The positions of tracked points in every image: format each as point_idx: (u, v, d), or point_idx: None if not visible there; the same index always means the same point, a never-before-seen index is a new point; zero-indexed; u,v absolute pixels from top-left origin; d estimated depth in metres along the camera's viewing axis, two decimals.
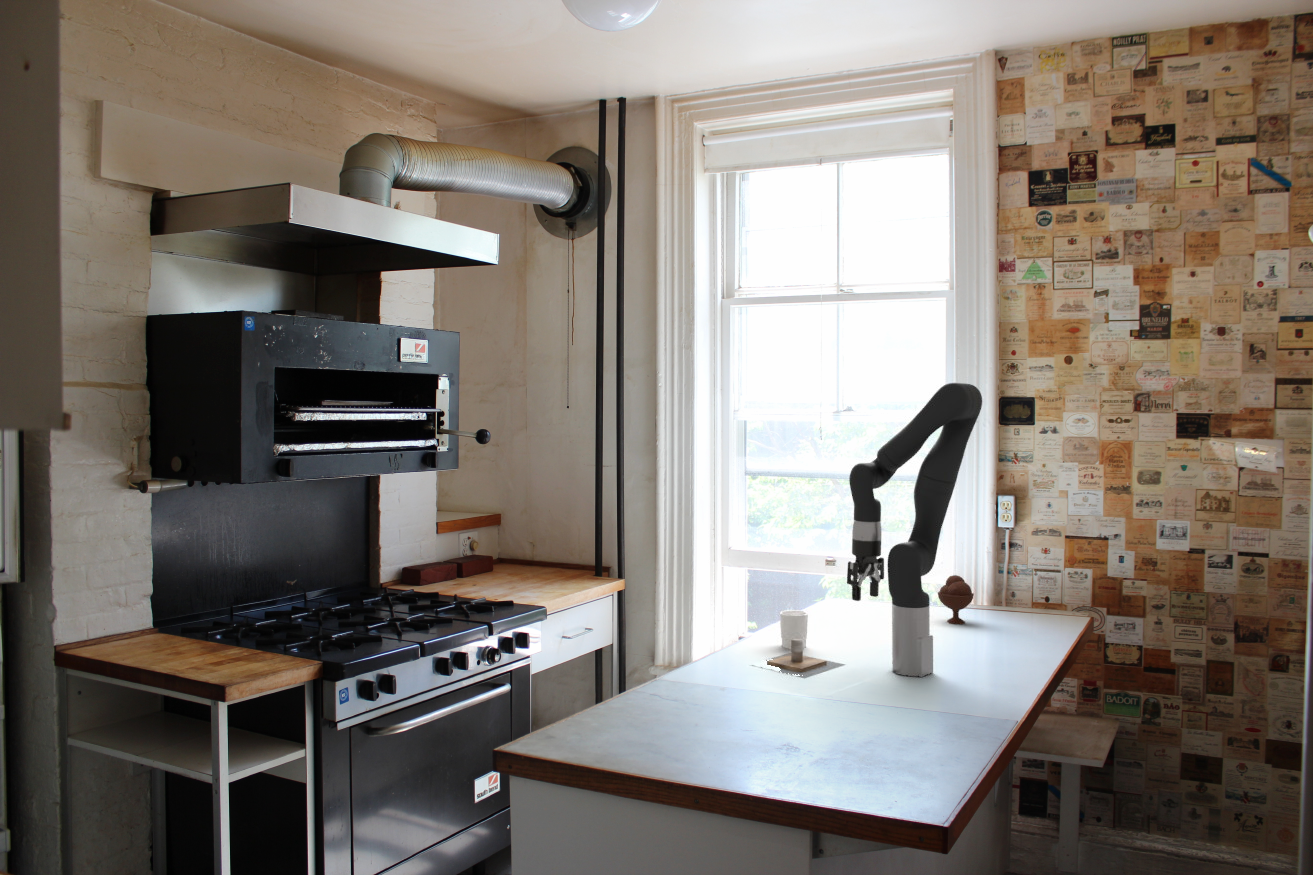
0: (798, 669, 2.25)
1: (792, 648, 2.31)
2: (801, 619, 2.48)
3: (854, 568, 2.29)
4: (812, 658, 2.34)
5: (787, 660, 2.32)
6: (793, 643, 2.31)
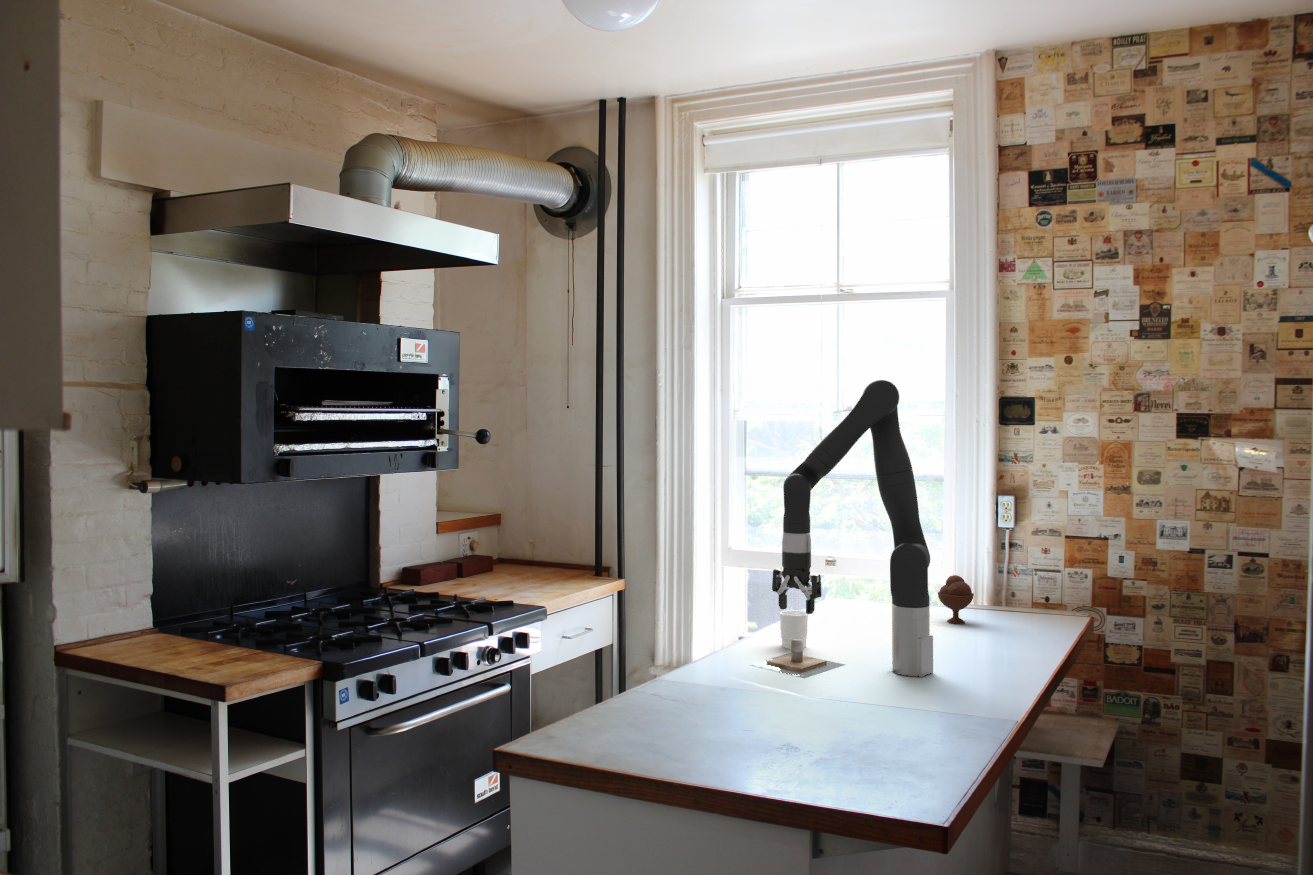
0: (798, 669, 2.25)
1: (792, 648, 2.31)
2: (801, 619, 2.48)
3: (820, 580, 2.27)
4: (812, 658, 2.34)
5: (787, 660, 2.32)
6: (793, 643, 2.31)
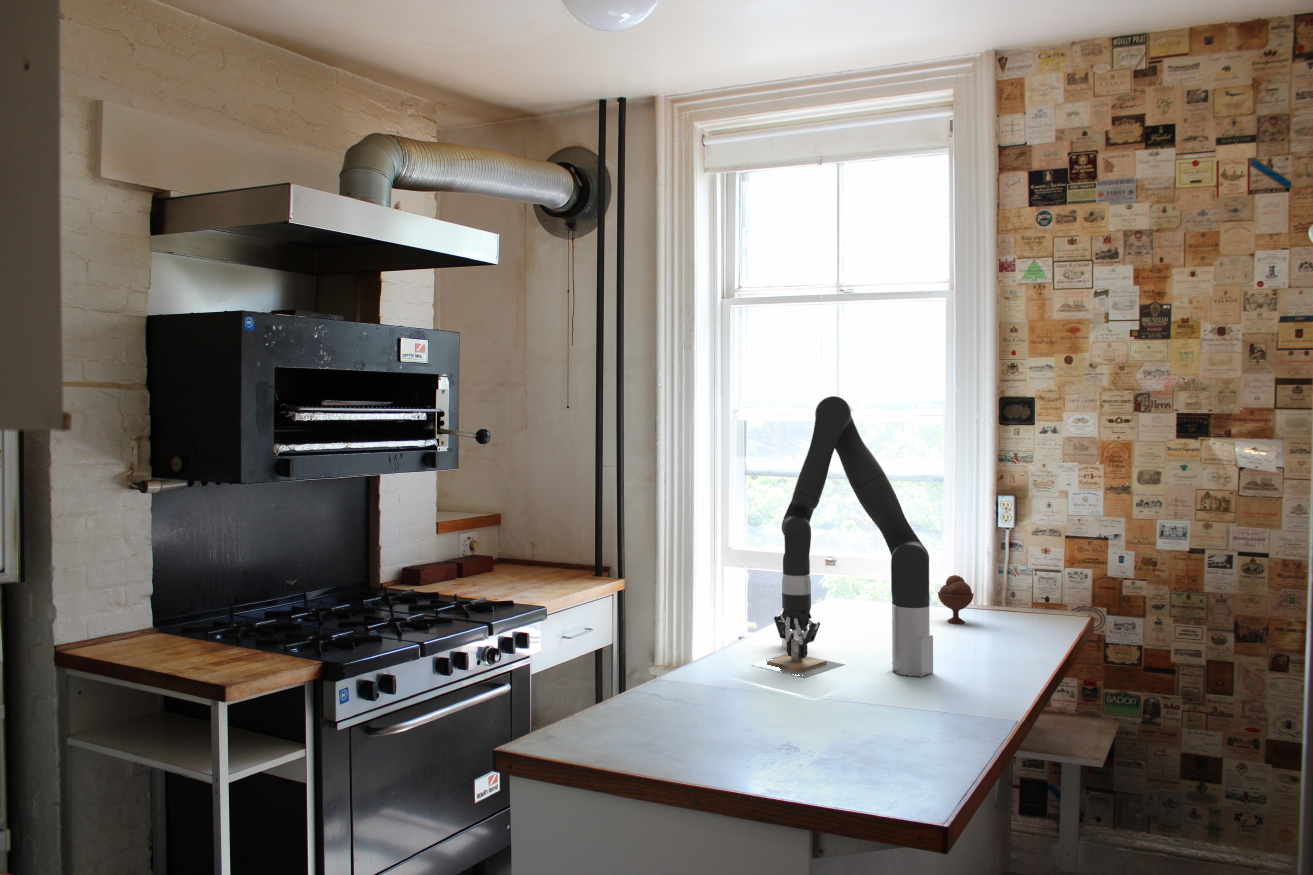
0: (798, 669, 2.25)
1: (792, 648, 2.31)
2: None
3: (817, 628, 2.28)
4: (812, 658, 2.34)
5: (787, 660, 2.32)
6: (793, 643, 2.31)
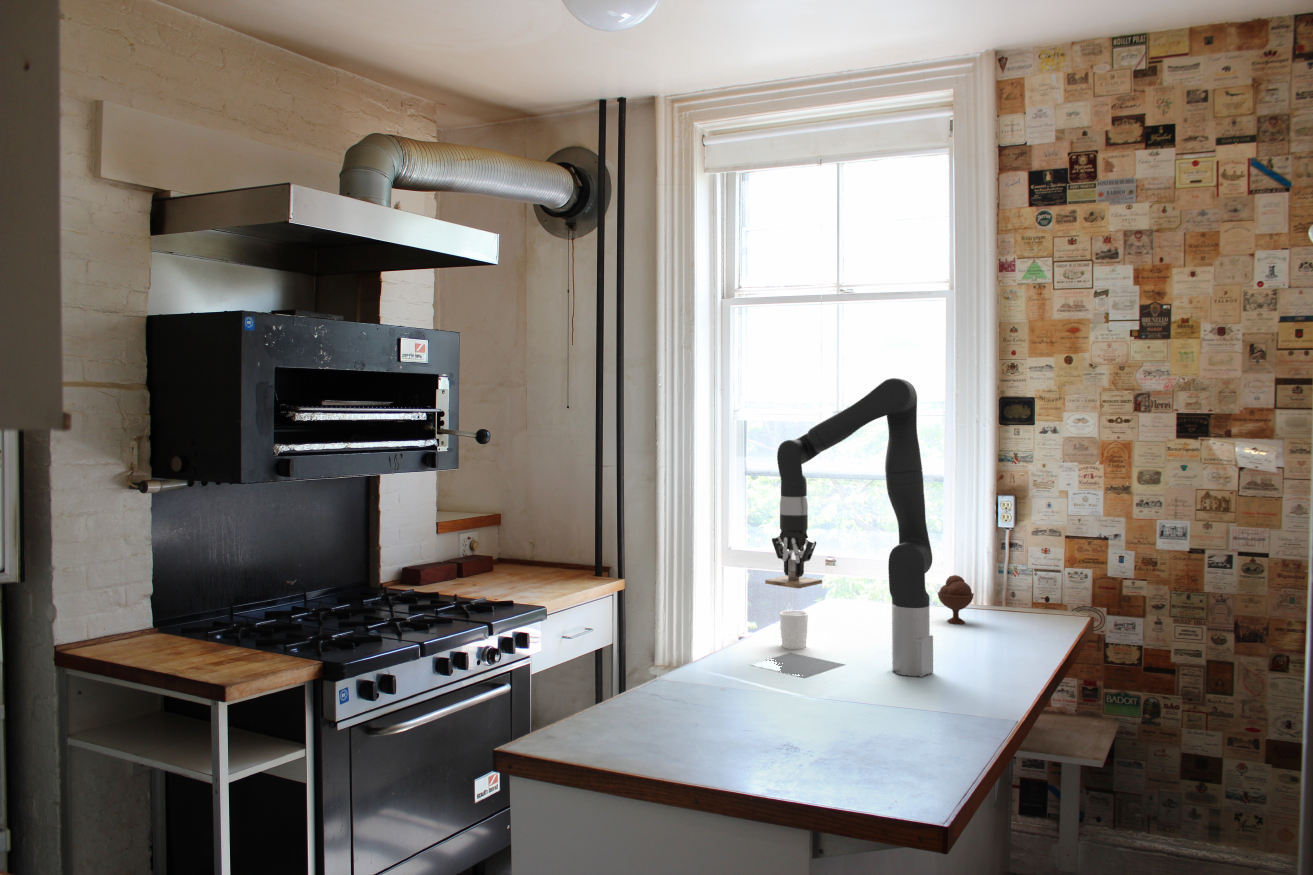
0: (795, 585, 2.34)
1: (789, 567, 2.40)
2: (801, 619, 2.48)
3: (814, 547, 2.38)
4: (808, 578, 2.44)
5: (784, 579, 2.42)
6: (790, 563, 2.40)
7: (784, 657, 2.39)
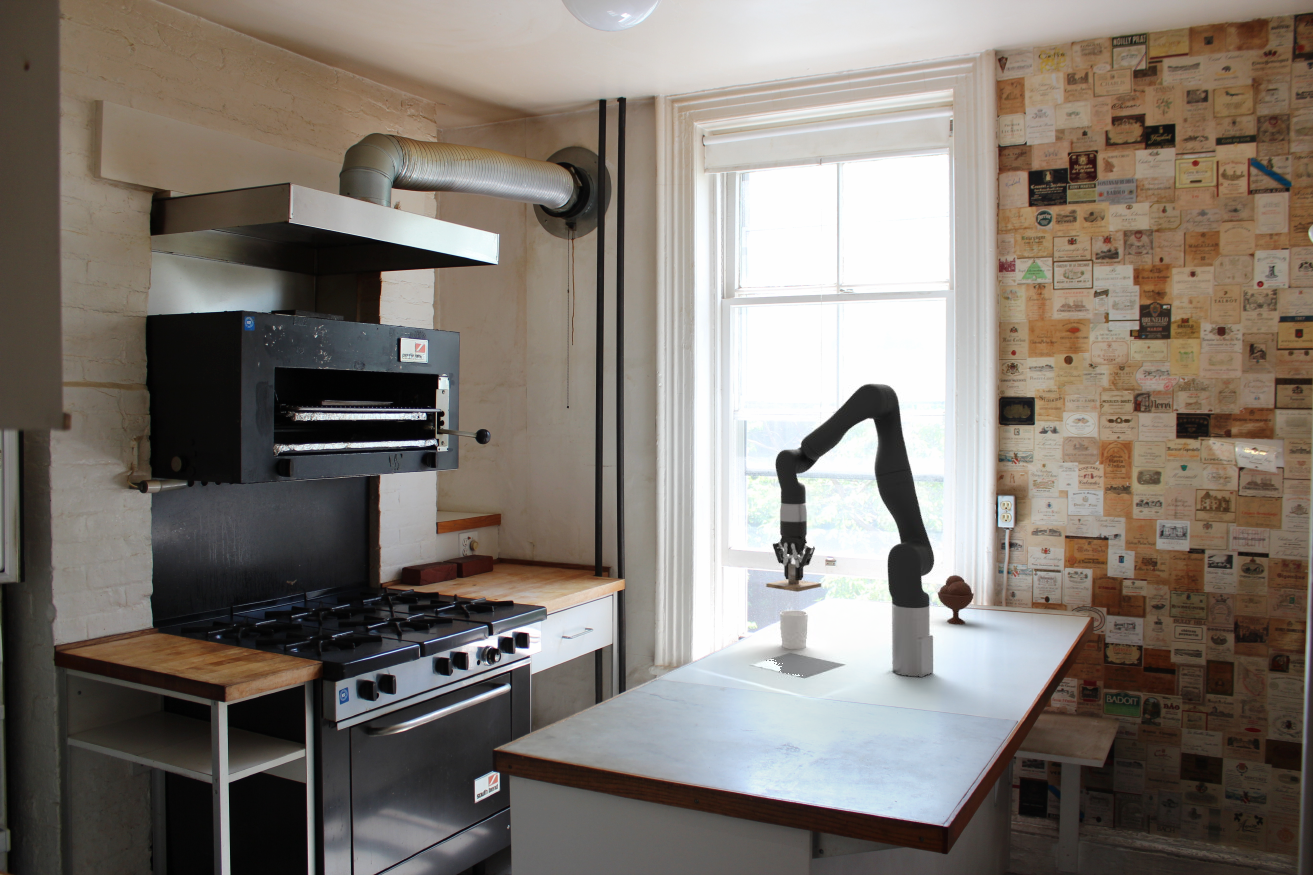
0: (794, 589, 2.45)
1: (789, 571, 2.51)
2: (801, 619, 2.48)
3: (813, 552, 2.48)
4: (807, 581, 2.54)
5: (784, 583, 2.52)
6: (790, 567, 2.51)
7: (784, 657, 2.39)
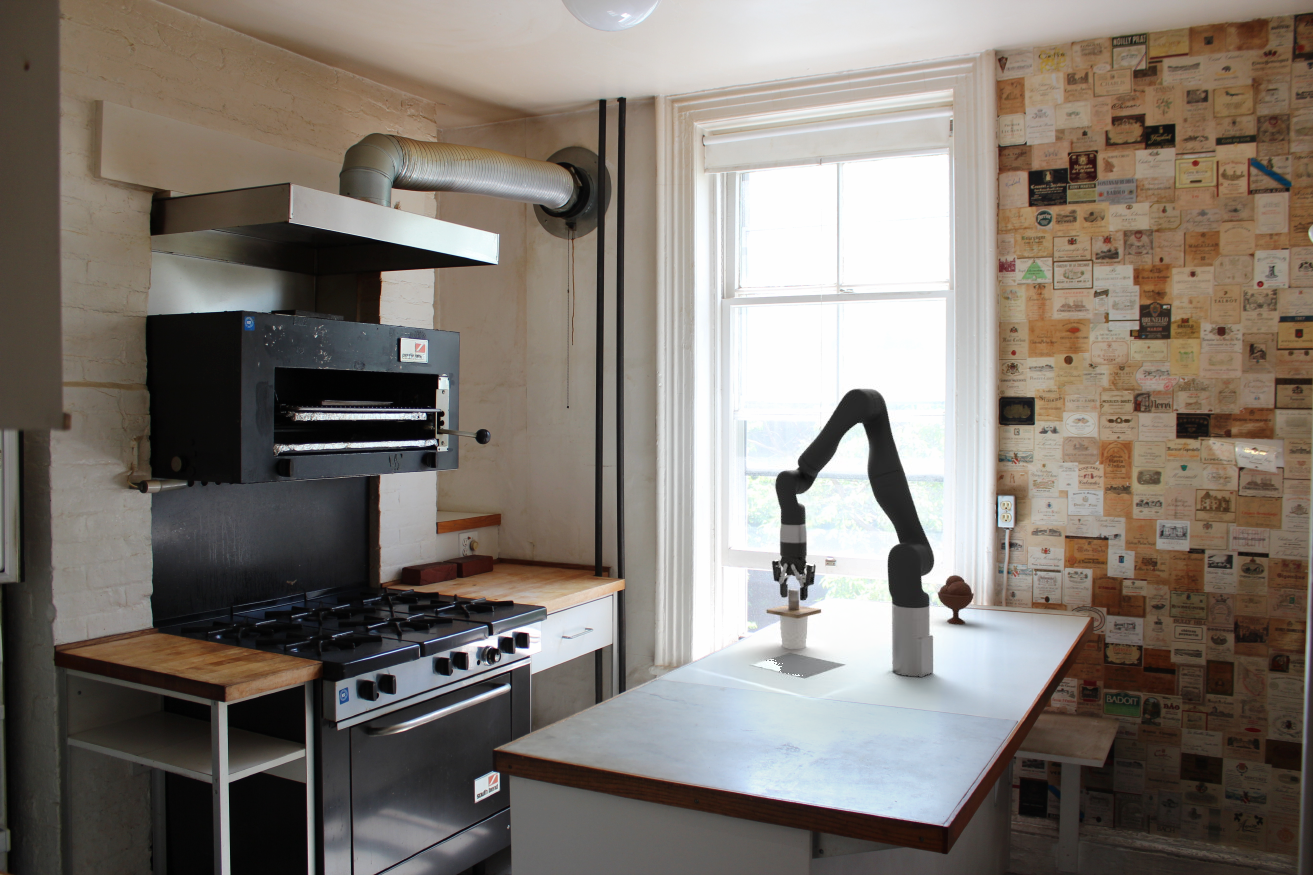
0: (795, 615, 2.45)
1: (789, 597, 2.51)
2: (800, 619, 2.49)
3: (814, 570, 2.48)
4: (808, 607, 2.54)
5: (785, 609, 2.52)
6: (790, 593, 2.51)
7: (784, 657, 2.39)
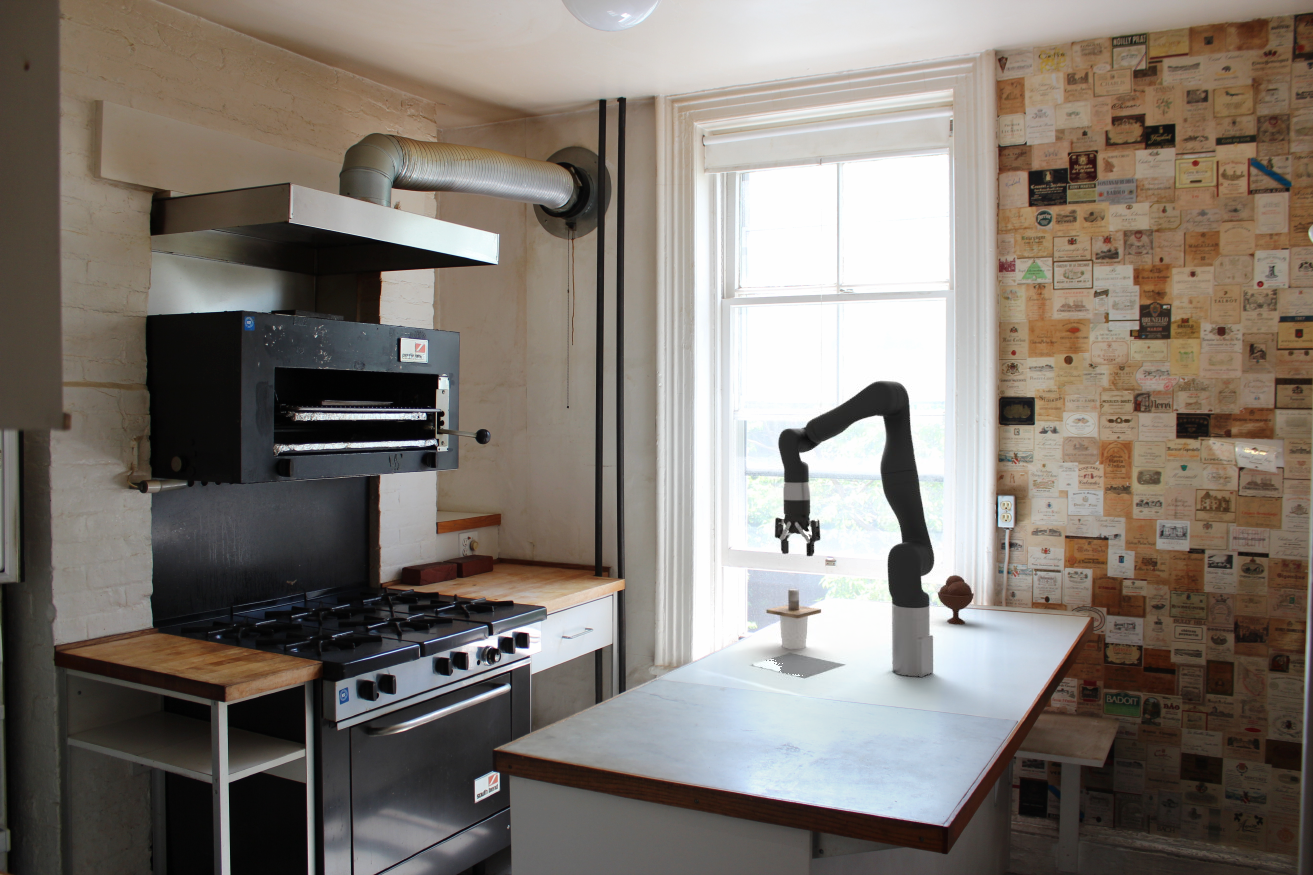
0: (794, 615, 2.45)
1: (789, 597, 2.51)
2: (800, 619, 2.49)
3: (818, 525, 2.48)
4: (808, 607, 2.54)
5: (785, 609, 2.52)
6: (790, 593, 2.51)
7: (784, 657, 2.39)
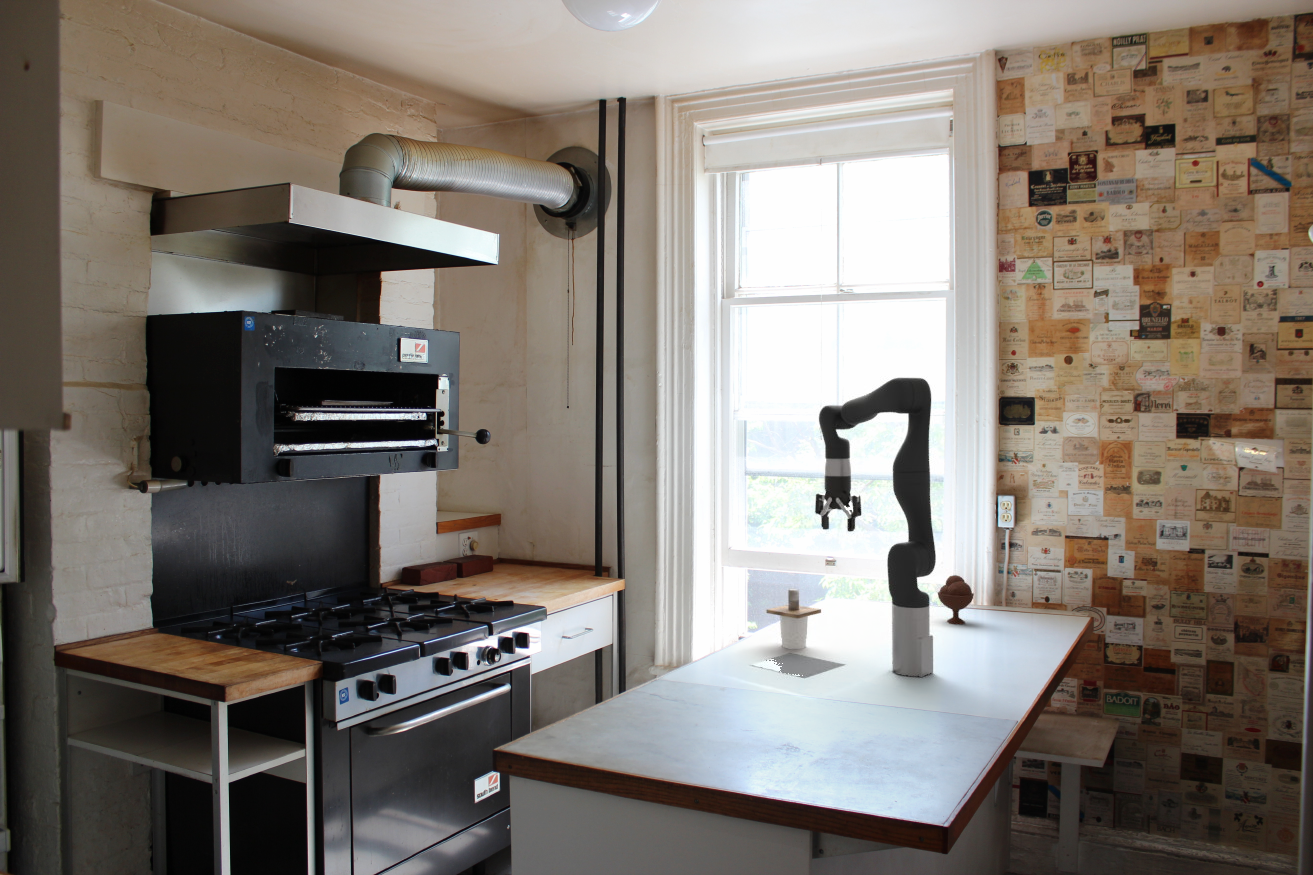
0: (795, 615, 2.45)
1: (789, 597, 2.51)
2: (800, 619, 2.49)
3: (860, 500, 2.51)
4: (808, 607, 2.54)
5: (785, 609, 2.52)
6: (790, 593, 2.51)
7: (784, 657, 2.39)
